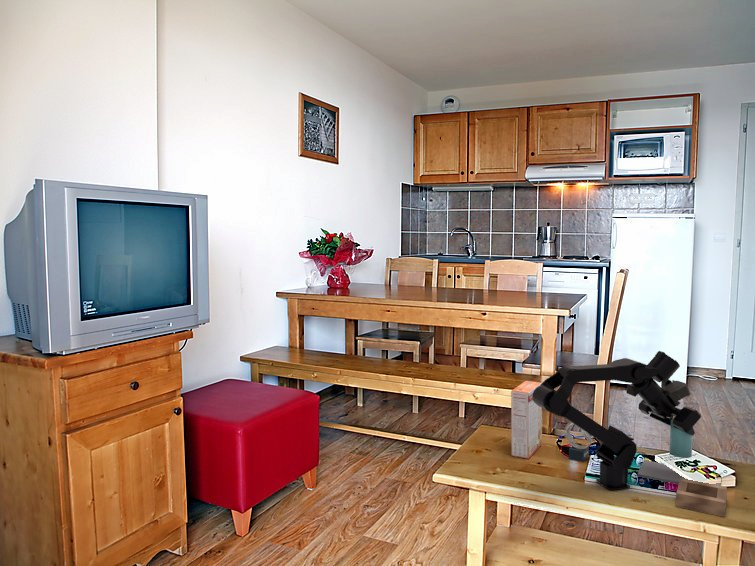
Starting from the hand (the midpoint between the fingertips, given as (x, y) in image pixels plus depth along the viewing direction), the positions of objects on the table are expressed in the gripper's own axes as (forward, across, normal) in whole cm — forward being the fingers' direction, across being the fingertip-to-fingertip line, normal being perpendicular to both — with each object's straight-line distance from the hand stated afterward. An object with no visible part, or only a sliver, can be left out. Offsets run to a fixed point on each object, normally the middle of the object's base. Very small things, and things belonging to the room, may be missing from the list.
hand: (685, 430), depth 166 cm
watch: (-5, +20, +24) cm, 32 cm away
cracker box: (-14, +29, +33) cm, 46 cm away
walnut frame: (+4, -15, +14) cm, 21 cm away
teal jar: (+4, 0, +6) cm, 7 cm away
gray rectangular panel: (+9, 0, +10) cm, 13 cm away
